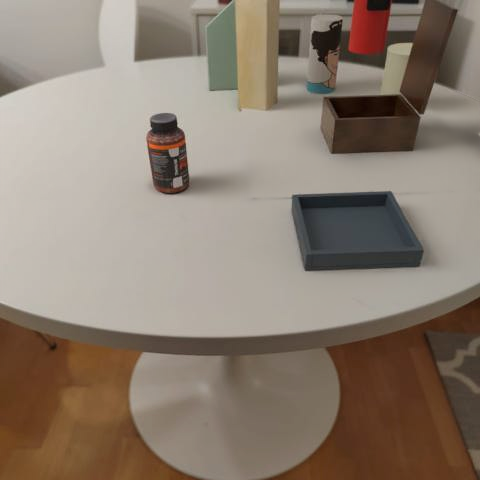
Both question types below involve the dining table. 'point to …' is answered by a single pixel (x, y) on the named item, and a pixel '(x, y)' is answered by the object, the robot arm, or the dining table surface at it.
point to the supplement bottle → (167, 154)
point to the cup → (324, 53)
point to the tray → (354, 231)
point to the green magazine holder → (222, 50)
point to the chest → (369, 124)
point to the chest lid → (427, 52)
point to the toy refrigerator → (257, 53)
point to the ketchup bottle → (368, 29)
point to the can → (395, 68)
